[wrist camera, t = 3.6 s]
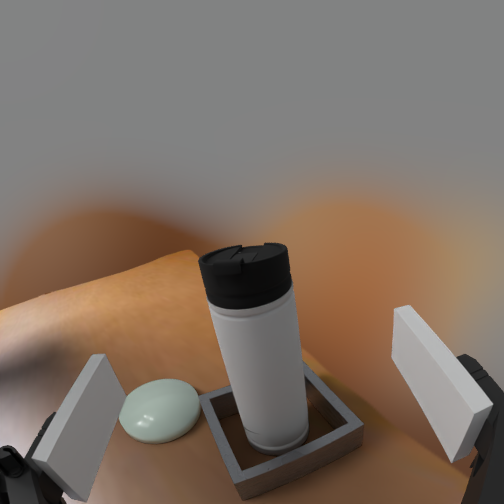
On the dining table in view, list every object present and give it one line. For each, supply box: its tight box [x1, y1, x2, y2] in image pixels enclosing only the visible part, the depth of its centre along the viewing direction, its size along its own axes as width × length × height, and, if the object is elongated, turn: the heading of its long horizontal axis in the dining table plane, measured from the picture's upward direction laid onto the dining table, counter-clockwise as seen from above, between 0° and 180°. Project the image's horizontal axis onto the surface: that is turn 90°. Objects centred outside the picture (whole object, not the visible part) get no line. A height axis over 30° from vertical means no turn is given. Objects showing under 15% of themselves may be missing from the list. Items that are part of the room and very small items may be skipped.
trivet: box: [119, 379, 201, 444], centre depth 33 cm, size 10×10×1 cm
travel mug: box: [198, 243, 309, 455], centre depth 25 cm, size 6×7×20 cm
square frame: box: [198, 360, 364, 500], centre depth 28 cm, size 12×12×4 cm
